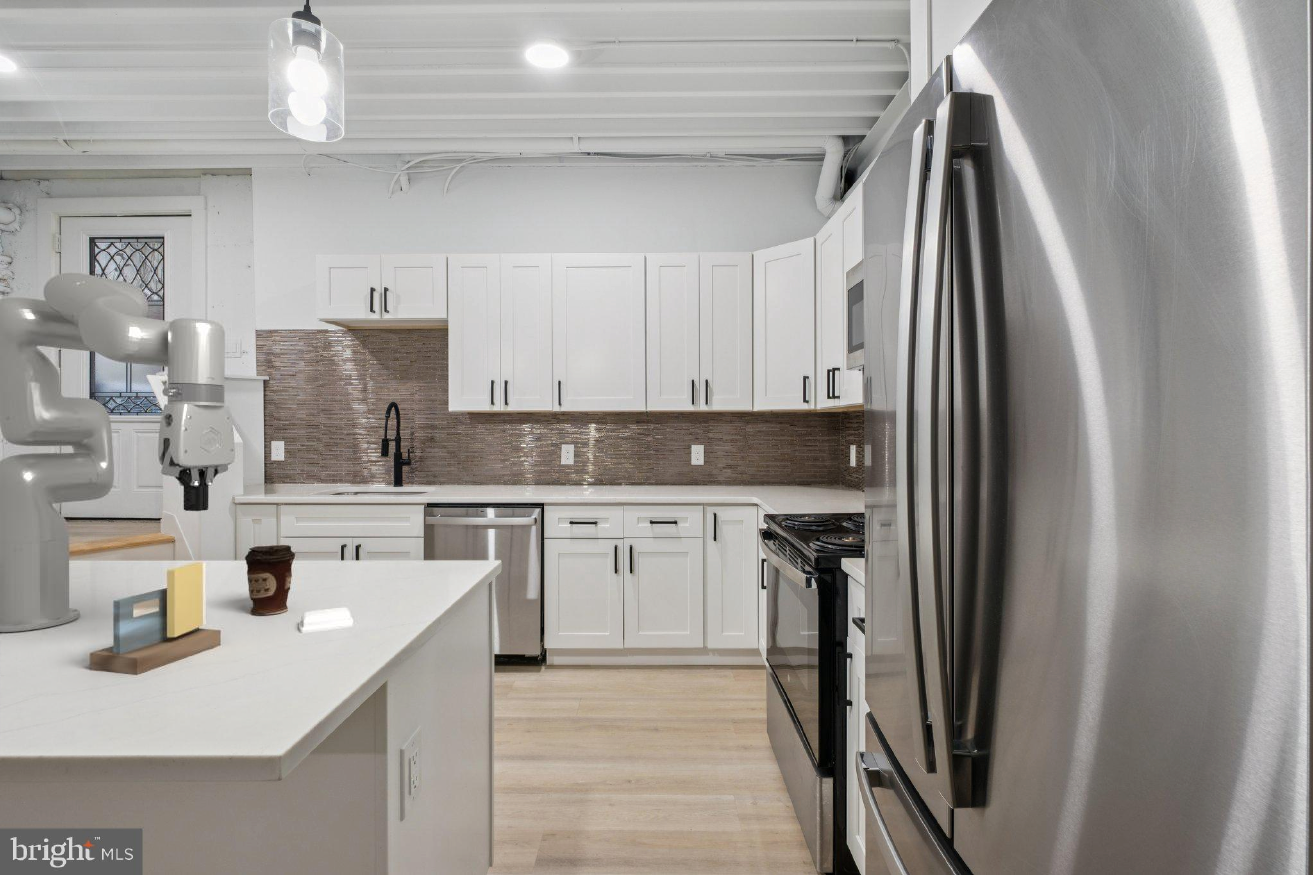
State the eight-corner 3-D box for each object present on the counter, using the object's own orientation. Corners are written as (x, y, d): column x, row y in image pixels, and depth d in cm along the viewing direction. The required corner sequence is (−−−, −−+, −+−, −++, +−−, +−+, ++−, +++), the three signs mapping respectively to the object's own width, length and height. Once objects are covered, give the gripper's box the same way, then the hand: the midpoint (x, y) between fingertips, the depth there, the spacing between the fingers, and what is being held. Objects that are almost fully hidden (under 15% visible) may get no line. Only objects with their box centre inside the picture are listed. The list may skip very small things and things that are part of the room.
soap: (299, 635, 117) (299, 619, 117) (298, 625, 123) (298, 610, 123) (354, 628, 121) (354, 612, 121) (351, 619, 127) (351, 604, 127)
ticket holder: (89, 669, 99) (89, 599, 99) (177, 640, 113) (177, 579, 112) (136, 674, 97) (136, 603, 97) (220, 645, 110) (220, 582, 110)
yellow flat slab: (205, 624, 110) (205, 561, 110) (175, 637, 103) (174, 570, 103) (198, 624, 110) (198, 561, 110) (166, 637, 103) (166, 570, 103)
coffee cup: (270, 619, 126) (270, 551, 126) (233, 616, 127) (233, 549, 127) (303, 607, 134) (303, 543, 134) (268, 605, 136) (268, 542, 136)
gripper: (170, 394, 98) (170, 517, 98) (254, 399, 112) (253, 506, 113) (131, 394, 100) (130, 515, 100) (218, 399, 114) (218, 504, 114)
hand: (196, 510), depth 106 cm, fingers closed
